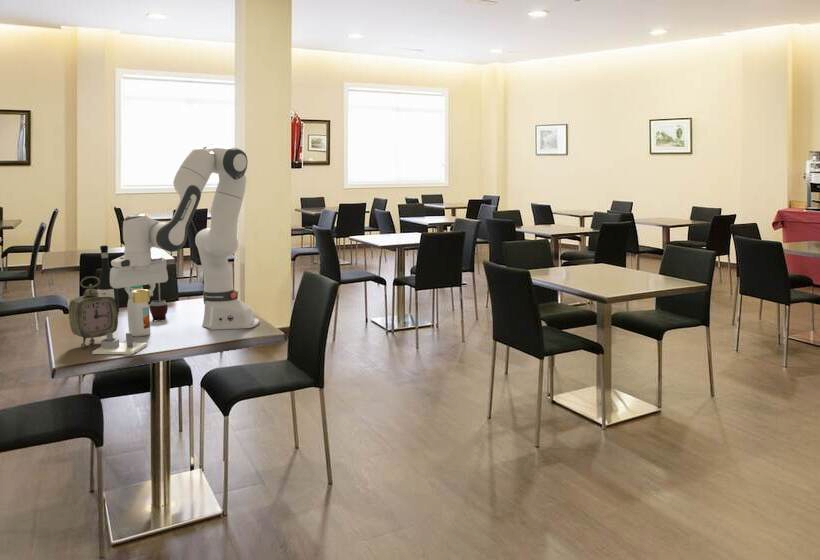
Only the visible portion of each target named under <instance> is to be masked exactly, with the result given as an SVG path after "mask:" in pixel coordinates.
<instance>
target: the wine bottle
mask: <svg viewBox="0 0 820 560" xmlns="http://www.w3.org/2000/svg"><path fill="white" fill-rule="evenodd" d="M99 248H100V255H101V257H100V258H101V272H100V275H99V277H98V278H99V280H100V283H99V285H98V286H96V288H97V289H96V290H97V291H98V292H99V294H100V295H105V296H109V297H112V298H114V300H115V302H116V305H117V312H118V313H119V312H120V306H119V303H120V302H119V293H118V292H119V291H118V288H113V287H111V285H110V270H111V268H110V262H109V251H108V250H109V246H108V245H107V244H106V245H100V247H99ZM98 282H99V281H98V280H97V283H98Z"/></svg>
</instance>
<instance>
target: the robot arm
mask: <svg viewBox="0 0 820 560" xmlns="http://www.w3.org/2000/svg"><path fill="white" fill-rule="evenodd" d="M247 156H248V155H247V154H246V152H245V151H244V150H242V149H240V148H237V147H233V146H228V145H214V144H207V145H204V146H202V147H196V148H194V149H192V150H191V151H190V153H188V155H187V156H186V157H185V159H184V160H183V162H182V163H181V165H180V166H179V168H178V170H177V172H176V173H175V176H174V178H173V183H172V184H173V187H174V190H175V192H176V193H177V194H178V195H179V203H178V205H177V207H176V209H175V211H174V213H173V216H172V218H171V219H170V220H169V221H167V222H162V221H159V220H157V219H153V218H151V217H149V216H147V215H146V214H145V213H137V214H136V213H135V214H131V215H128V216H126V217H125V218H124V220H123V222H122V239H123V242H124V251H123V254H124V255H121V256H119V257H117V258H115V259H112V260H111V261H110V264H111V268H110V285H111V287H113V288H117V289H123V288H124V291H125V292H126V293H127V294H128V295H127V296H128V300H129V299H134V298H135V297H134V294H133V293H131V287H132V286H139V285H143V286H146V285H149V287H150V288H149V289H148V290H149V294H150V297H153V296H154V291H155V288H156V284H159V283H160V284H161V283H167V282H168V280H169V275H168V273H169V272H168V269H167V266H168V265H167V264H168V263H167V260H166V259H165V258H164V257H160V256H159V257H152V252H151V249H152V248H155V249H158V250H159V249H161V250H164V251H166V252H170V253H172V252H173V253H174V252H178V251H180V250H181V249H182V248H183V247H184V246H185V244H186V243H187V237H188V230H189V227H190V224H191V222H192V219H193V217H194V215H195V214H196V211H197V208H198V206H199V204H200V201H201V196H202V193H203V190H204V188H205V187H206V185H207V182H208V181H209V179H210V177H211V175H212V174H213V173H214V174H218V183H217V186H216V189H215V192H214V196H213V199H212V202H211V206H210V209H209V210H210V211H209V212H210V215H211V216H210V227H207V228H203V229H201V230H200V231H198V232H197V234H196V235H195V239H194V241H195V242H194V243H195V246H196V247H197V251H198V255H199V259H200V260H199V261H200V263H201V268H202V274H203V286H204V287H203V288H204V290H203V295H202V297H203V305H204V312H203V320H202V324H201V326H202V327H204V328H208V329H209V330H211V331H212V330H215V331H216V330H236V329H237V330H239V329H251V328H254V327H257V326H258V325H259V324H260V320H259V318H255V317H254V312H253V309H252V307H251V306H249V305H248V304H247V303H245V302H244V301H242V300H240V299H239V290H237V291H236V289H233V272H232V271H233V270H232V267H231V266H230V263H229V259H228V258H229V257H231V256H233V255H234V254H235V253H236V252H237V251H238V248H239V241H238V239H237V238H238V237H237V236H238V235H237V233H238V222H239V221H238V220H239V216H240V212H241V209H242V205H243V201H244V197H245V193H246V187H247V185H246V184H247V177H246V175H245V174H246V172H247V169H248V157H247Z"/></svg>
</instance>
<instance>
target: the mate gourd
mask: <svg viewBox="0 0 820 560" xmlns="http://www.w3.org/2000/svg"><path fill="white" fill-rule="evenodd" d="M157 291H158V299H155V300H152V301H151V302H150V304H149V313H150V314H151V317H152V322H155V321H154V320H157V321H161V320H165V318H166V319H167V317H166V315H167V313H168V310H169V307H168V303H167V302H166V300H164V299H161V283H158V290H157Z"/></svg>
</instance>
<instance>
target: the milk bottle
mask: <svg viewBox="0 0 820 560" xmlns="http://www.w3.org/2000/svg"><path fill="white" fill-rule="evenodd" d="M134 290H144V285H139V286H132V287H131V290H130V292H131V293H132V291H134ZM126 308H127V310H126V311H127V322H128V323H127V324H128V333H132V337H144V336H148V335H150V334H151V321H150V320H151V319H150V305H149V302H146V303H133V299H129V298H128V301H127V306H126Z"/></svg>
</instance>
